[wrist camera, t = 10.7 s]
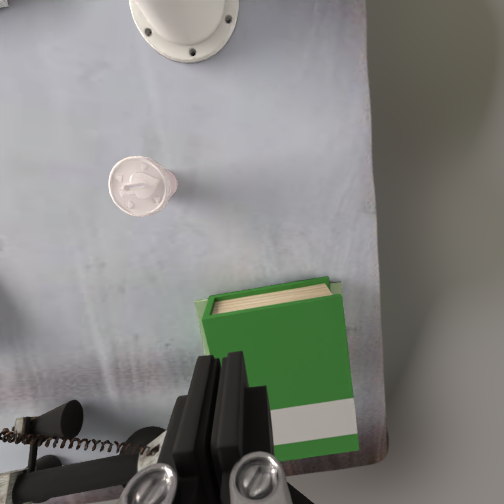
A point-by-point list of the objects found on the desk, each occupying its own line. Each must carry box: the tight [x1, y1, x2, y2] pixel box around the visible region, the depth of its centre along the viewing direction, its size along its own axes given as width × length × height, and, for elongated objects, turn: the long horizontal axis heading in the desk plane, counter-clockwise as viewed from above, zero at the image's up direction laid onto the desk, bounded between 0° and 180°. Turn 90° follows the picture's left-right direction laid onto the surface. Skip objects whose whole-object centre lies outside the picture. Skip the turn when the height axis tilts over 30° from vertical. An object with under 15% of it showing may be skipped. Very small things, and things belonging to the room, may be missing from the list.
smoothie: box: [108, 156, 177, 217], centre depth 34 cm, size 6×6×14 cm
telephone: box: [0, 400, 167, 504], centre depth 47 cm, size 15×13×30 cm
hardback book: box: [201, 276, 359, 461], centre depth 44 cm, size 18×7×24 cm
